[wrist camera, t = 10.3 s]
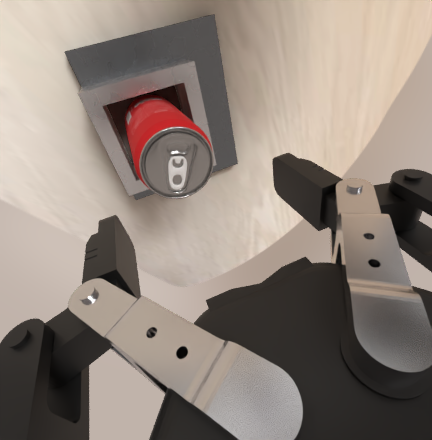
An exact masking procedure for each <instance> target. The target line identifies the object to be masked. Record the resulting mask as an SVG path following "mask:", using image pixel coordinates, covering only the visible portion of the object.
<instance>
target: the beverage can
mask: <svg viewBox="0 0 432 440" xmlns="http://www.w3.org/2000/svg"><path fill="white" fill-rule="evenodd" d="M125 128H126V132H127V137H128V141H129V145H130V149H131V153H132V157H133V162H134V166H135V170H136V172H137V175H138V177H139V178H140V180H141V181H142V182H143V184H144V185H145V186H146V187H147V188H149V189H150V190H152V191H153V192H154V193H156V194H158V195H160V196H162V197H165V198H171V199H179V198H185V197H188V196H190V195H192V194H194V193H196V192H197V191H199V190H200V189H201V188H202V187H203V186H205V184H206V183H207V181H208V180H209V178H210V176H211V173H212V170H213V164H214V158H213V151H212V146H211V143H210V141H209V139H208V137H207V136H206V134H205V133H204V132H203V131H202V130H201V129H200V128H199V127H198V126H197V125H196V124H195V123H193V122H192V121H191V120H190V119H189V118H188V117H186V116H185V115H184V114H183V113H182V112H181V111H180V110H178V109H177V108H176V107H175V106H174V105H173V104H171V103H170V102H169V101H168V100H166V99H165V98H163V97H161V96H158V95H143V96H140V97H138V98H137V99H135V100H134V101H133V102H132V103H131V104H130V105H129V107H128V109H127V111H126V114H125Z"/></svg>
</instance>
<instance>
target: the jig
mask: <svg viewBox="0 0 432 440" xmlns="http://www.w3.org/2000/svg"><path fill="white" fill-rule="evenodd" d="M65 54H66V56H67V58H68V61H69V63H70V65H71V67H72V69H73V71H74V73H75V75H76V77H77V79H78V81H79V83H80V85H81V89H80V91H79V92H78V95H79V97H80V99H81V101H82V103H83V105H84V107H85V109H86V111H87V113H88V115H89V117H90V119H91V121H92V123H93V125H94V127H95V129H96V131H97V133H98V135H99V137H100V139H101V141H102V143H103V145H104V147H105V149H106V151H107V153H108V155H109V157H110V159H111V161H112V163H113V165H114V167H115V169H116V171H117V173H118V175H119V177H120V179H121V181H122V183H123V185H124V187H125V189H126V191H127V193H128V195H129V196H131V195H134V197H135V199H136V200H138V199H140V198H143V197H146V196H149V195H152V194H154V192H153V191H152V190H150V189H149V188H147V187H146V186H145V185H144V184H143V182H142V181H141V180H140V178H139V177H138V175H137V172H136V170H135V166H134V163H132V162H131V159H130V157H129V155H128V153H127V150H126V148H125V146H124V144H123V141H122V139H121V137H120V134H119V132H118V130H117V128H116V125H115V123H114V121H113V119H112V116H111V114H110V112H109V110H108V107H107V105H108V104H111V103H114V102H118V101H121V100H125V99H128V98H132V97H135V96H139V95H142V94H145V93H149V92H152V91H156V90H159V89H163V88H166V87H169V86H173V85H175V88H176V92H177V96H178V99H179V103H180V107H181V110H182V113H183V114H184V115H185V116H186V117H188V118H189V119H190V120H191V121H192V122H193V123H195V124H196V125H197V126H198V127H199V128H200V129H201V130H202V131H203V132H204V133H205V134H206V136H207V137H208V139H209V141H210V143H211V146H212V151H213V158H214V164H213V170H212V173H213V172H216V171H219V170H221V169H224V168H227V167H230V166H232V165H235V164H238V163H237V157H236V150H235V144H234V137H233V131H232V124H231V118H230V112H229V105H228V99H227V92H226V86H225V80H224V73H223V67H222V60H221V54H220V47H219V41H218V35H217V28H216V22H215V15H214V14H213V15H209V16H205V17H201V18H197V19H193V20H189V21H185V22H181V23H177V24H173V25H169V26H165V27H161V28H157V29H153V30H149V31H145V32H141V33H137V34H133V35H129V36H125V37H121V38H117V39H113V40H109V41H105V42H101V43H97V44H93V45H90V46H86V47H82V48H78V49H74V50H70V51H66V52H65Z"/></svg>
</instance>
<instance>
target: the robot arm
mask: <svg viewBox="0 0 432 440" xmlns="http://www.w3.org/2000/svg"><path fill="white" fill-rule="evenodd" d="M273 177H274V187H275V190H276V192H277V194H278V195H279V196H280V197H281V198H282V199H283V200H284V201H285V202H286V203H288V204H289V205H290V206H291V207H292V208H293V209H294V210H295V211H297V212H298V213H299V214H300V215H301V216H302V217H303V218H304V219H306V220H307V221H308V222H309V223H310V224H311V225H312V226H314V227H315V228H316V229H317V230H318V231H320V230H323V229H325V228H327V227H329V228H330V229H331V231H330V246H331V263H311V262H310V261H309V260H308V259H307V258H306V257H304V258H301V259H299V260H297V261H295V262H293V263H290V264H288V265H285V266H284V267H281V268H280V269H279V270H278V271H276V272H275V273H274V274H273V275H271V276H270V277H269V278H267V279H266V280H265V281H263V282H262V283H260V284H256V285H251V286H246V287H240V288H235V289H231V290H228V291H226V292H224V293H222V294H219V295H217V296H215V297H212V298H210V299H208V300H206V302H207V305H208V307H209V309H208V310H206V311H205V312H204V313H203V314H202V315H201V316H200V317H199V318H198V319H197V320H196V321H195V323H194V324H192V323H191V322H189V321H187V320H185V319H184V318H182V317H180V316H178V315H176V314H175V313H173V312H171V311H169V310H167V309H166V308H164V307H162V306H160V305H159V304H157V303H155V302H153V301H151V300H150V299H148V298H146V297H144V296H141V295H140V286H139V278H138V271H137V263H136V255H135V249H134V246H133V243H132V241H131V239H130V237H129V236H128V234H127V232H126V230H125V229H124V227H123V225H122V223H121V222H120V220H119V218H118V217H117V216H116V215H114V216H111V217H108V218H106V219H103V220H100V221H99V228H98V233H96V234H94V235H92V236H91V237H90V239H89V241H88V242H87V244H86V251H85V252H86V254H85V262H84V270H83V279H82V285H81V286H79V287H78V288H77V289H76V290H75V291H74V293H73V294H72V295H71V297H70V299H69V302H68V308H67V309H66V310H64V311H63V312H61V313H60V314H59V315H57V316H55V317H54V318H52V319H51V320H49V321H48V322H46V323H44V322H43V321H41V320H40V319H30V320H27V321H24V322H23V323H21V324H19V325H17V326H16V327H15V328H13V330H11V331H10V332H9V333H8V334H7V335H6V336H5V338H4V339H3V340H2V342H1V343H0V440H89V365H90V364H91V363H92V362H94V361H95V360H96V359H98V358H99V357H100V356H101V355H102V354H104V353H105V352H106V351H107V350H109V349H111V350H113V351H114V352H115V353H116V354H118V355H119V356H120V357H121V358H123V359H124V360H125V361H126V362H128V363H129V364H130V365H131V366H132V367H134V368H135V369H136V370H138V371H139V372H140V373H141V374H142V375H143V376H144V377H146V378H147V379H148V380H149V381H150V382H151V383H153V384H154V385H155V386H156V387H157V388H158V389H160V390H161V391H162V392H163V393H164V394H165V397H164V400H163V403H162V405H161V408H160V411H159V414H158V416H157V419H156V422H155V425H154V428H153V431H152V433H151V436H150V439H149V440H432V292H430V291H427V290H424V289H420V288H417V287H414V286H411V283H410V280H409V276H408V273H407V270H406V267H405V263H404V260H403V257H402V254H401V251H400V248H401V249H402V250H404V251H405V252H406V253H408V254H409V255H410V256H411V257H413V258H414V259H415V260H417V261H418V262H419V263H421V264H422V265H423V266H424V267H426V268H427V269H428V270H430V271H431V272H432V229H431V228H430V227H428V226H427V225H425V224H423V223H422V222H420V221H419V219H420V216H421V213H422V211H424V212H426V213H427V214H429V215H431V216H432V175H431V174H429V173H427V172H424V171H420V170H415V169H404V170H399V171H396V172H395V173H393V175H392V177H391V181H390V183H386V184H380V185H374V186H373V185H372V184H371V183H370V182H368V181H366V180H363V179H357V178H350V179H344V180H343V179H341V178H339V177H337V176H336V175H334V174H332V173H331V172H329V171H327V170H324V168H322V167H320V166H318V165H317V164H315V163H313V162H312V161H309V160H305V159H301V158H300V159H299V158H297V157H295V156H294V155H292V154H290V153H286V154H283V155H280V156H277V157H275V158H274V159H273Z"/></svg>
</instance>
